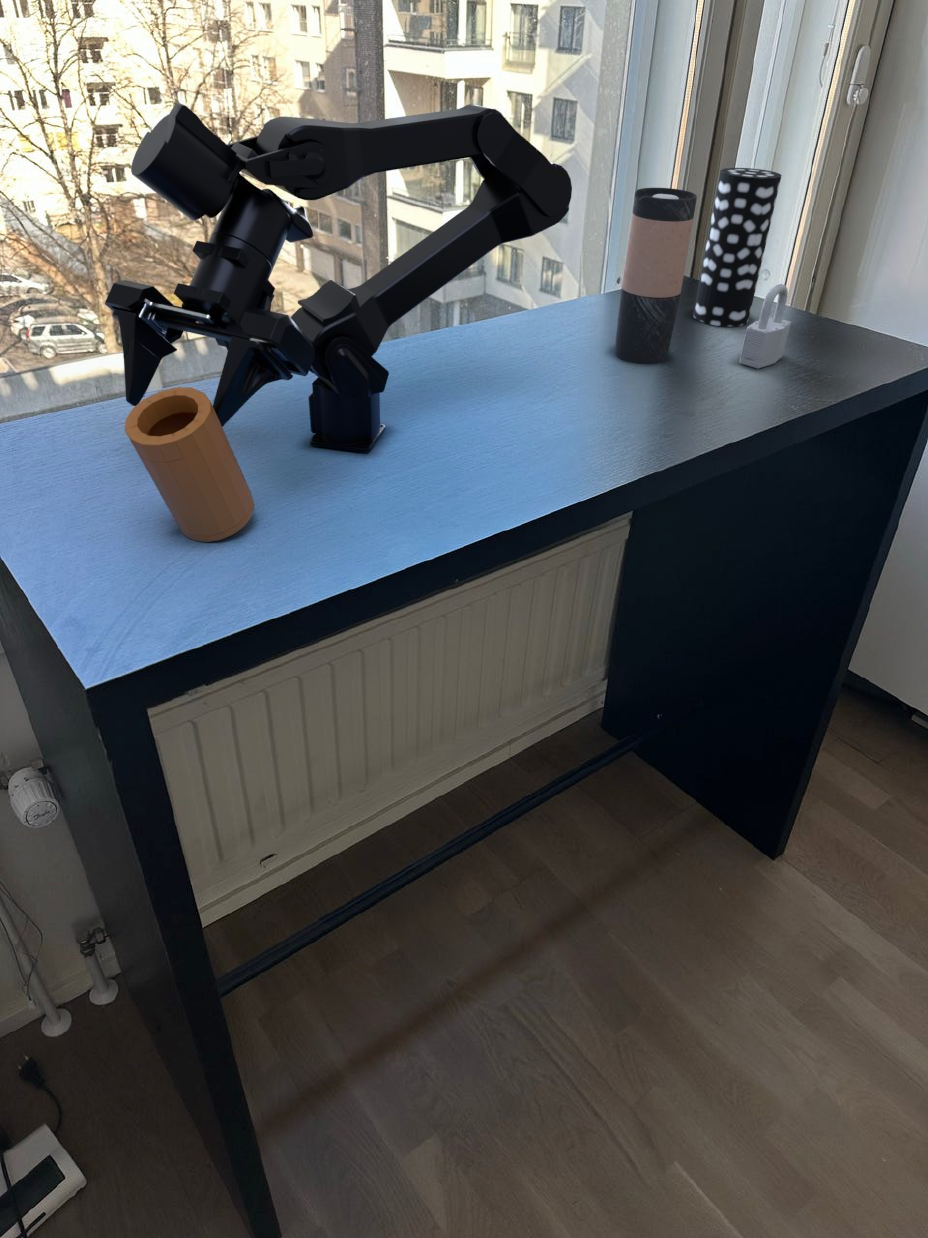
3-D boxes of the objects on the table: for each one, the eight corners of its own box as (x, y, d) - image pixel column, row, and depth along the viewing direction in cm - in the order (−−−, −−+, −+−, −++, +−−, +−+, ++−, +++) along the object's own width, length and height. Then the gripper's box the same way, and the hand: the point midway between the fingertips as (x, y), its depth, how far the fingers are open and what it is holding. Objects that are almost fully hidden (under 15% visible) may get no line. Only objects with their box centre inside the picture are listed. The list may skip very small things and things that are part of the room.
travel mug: (677, 353, 118) (707, 192, 106) (656, 369, 113) (684, 202, 101) (626, 341, 121) (649, 184, 109) (602, 356, 116) (624, 193, 104)
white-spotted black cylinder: (752, 315, 134) (785, 171, 122) (742, 330, 127) (776, 180, 116) (699, 306, 136) (726, 165, 125) (687, 320, 130) (714, 173, 118)
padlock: (761, 370, 114) (780, 292, 108) (734, 362, 116) (751, 285, 110) (786, 358, 118) (806, 282, 112) (759, 351, 120) (777, 276, 114)
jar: (265, 488, 77) (223, 388, 68) (238, 544, 73) (190, 446, 65) (196, 484, 79) (146, 385, 70) (166, 539, 75) (110, 442, 66)
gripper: (368, 323, 80) (305, 477, 78) (209, 289, 86) (147, 431, 85) (314, 248, 69) (240, 424, 68) (137, 217, 76) (66, 376, 74)
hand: (171, 415), depth 74 cm, fingers open, 9 cm apart
